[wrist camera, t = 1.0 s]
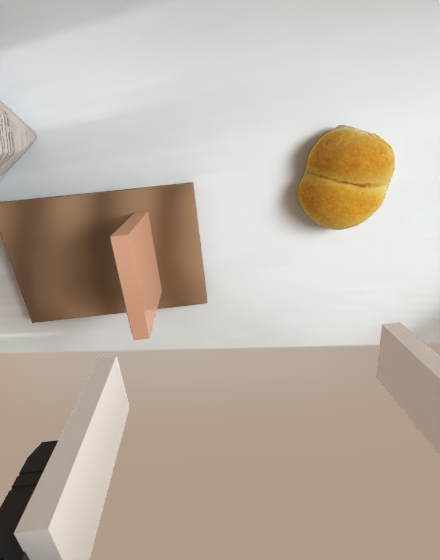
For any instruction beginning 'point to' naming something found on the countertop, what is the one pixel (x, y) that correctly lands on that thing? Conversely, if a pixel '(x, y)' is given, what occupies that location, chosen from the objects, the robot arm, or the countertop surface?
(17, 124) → the juice carton
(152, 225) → the board
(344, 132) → the bread roll
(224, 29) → the countertop surface
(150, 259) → the tile
